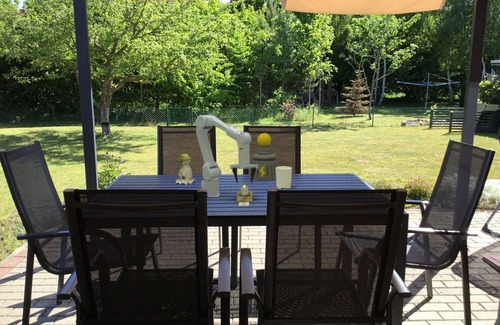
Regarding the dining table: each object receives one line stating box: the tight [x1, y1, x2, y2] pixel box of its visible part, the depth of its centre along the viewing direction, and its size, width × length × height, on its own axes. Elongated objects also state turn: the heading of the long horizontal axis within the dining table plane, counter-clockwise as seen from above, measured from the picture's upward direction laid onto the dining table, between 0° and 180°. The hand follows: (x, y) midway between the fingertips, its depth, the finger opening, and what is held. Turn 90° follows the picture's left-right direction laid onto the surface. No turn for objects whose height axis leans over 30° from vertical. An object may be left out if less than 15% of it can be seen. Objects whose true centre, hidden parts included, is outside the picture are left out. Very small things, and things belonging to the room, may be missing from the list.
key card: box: [238, 202, 250, 207], centre depth 208 cm, size 5×6×1 cm
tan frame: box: [236, 190, 254, 203], centre depth 220 cm, size 8×14×2 cm, turn 179°
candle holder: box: [275, 166, 293, 190], centre depth 245 cm, size 10×10×12 cm
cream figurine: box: [175, 153, 195, 185], centre depth 263 cm, size 12×13×18 cm
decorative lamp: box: [249, 132, 280, 182], centre depth 274 cm, size 19×19×30 cm
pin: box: [240, 184, 249, 197], centre depth 216 cm, size 4×4×8 cm
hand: (244, 182), depth 216 cm, fingers open, 7 cm apart
